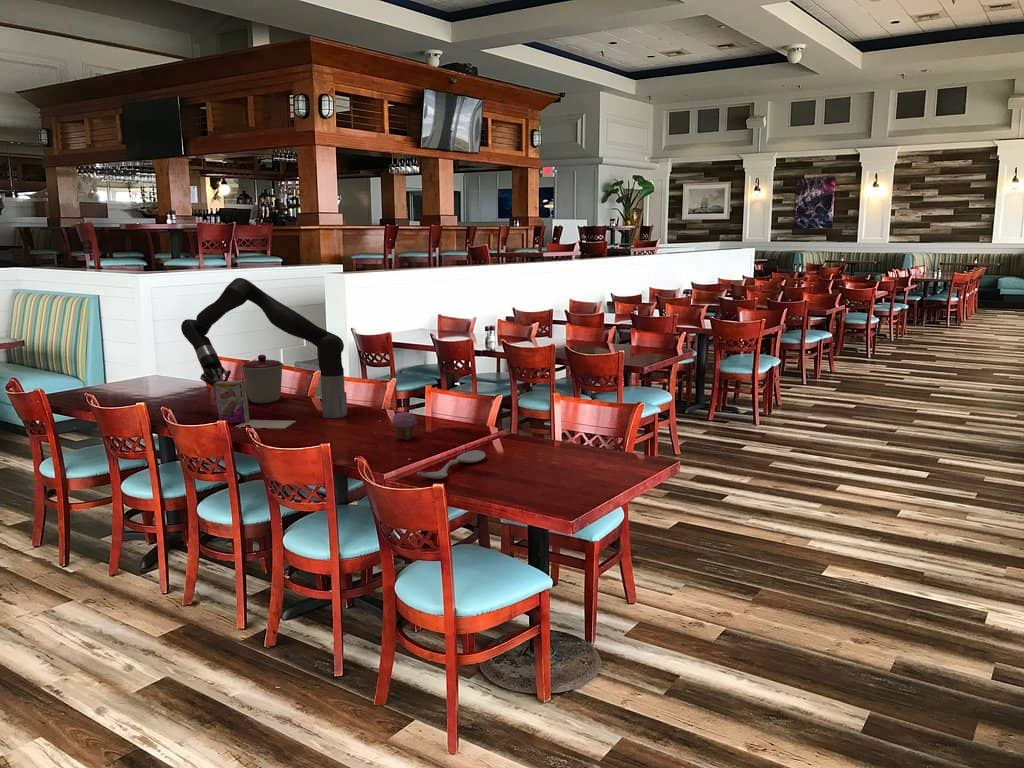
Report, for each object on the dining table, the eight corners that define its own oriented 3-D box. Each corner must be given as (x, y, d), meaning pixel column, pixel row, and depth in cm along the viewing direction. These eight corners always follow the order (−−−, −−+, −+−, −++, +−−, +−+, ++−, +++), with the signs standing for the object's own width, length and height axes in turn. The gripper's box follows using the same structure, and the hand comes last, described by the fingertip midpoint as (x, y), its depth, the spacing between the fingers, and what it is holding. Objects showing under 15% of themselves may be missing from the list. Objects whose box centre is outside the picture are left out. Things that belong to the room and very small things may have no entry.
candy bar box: (218, 424, 325) (213, 383, 322) (223, 421, 330) (218, 381, 327) (245, 423, 323) (240, 382, 320) (250, 420, 328) (245, 380, 325)
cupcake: (410, 442, 295) (409, 415, 293) (388, 440, 298) (387, 413, 296) (421, 436, 303) (420, 410, 301) (400, 434, 306) (399, 408, 304)
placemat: (296, 421, 328) (296, 420, 328) (284, 429, 316) (284, 428, 316) (248, 420, 330) (248, 419, 330) (234, 427, 318) (234, 426, 318)
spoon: (415, 482, 249) (415, 471, 249) (467, 456, 278) (467, 446, 277) (441, 486, 245) (441, 474, 245) (490, 459, 274) (490, 449, 273)
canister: (242, 406, 356) (238, 358, 352) (245, 398, 374) (241, 352, 370) (285, 404, 361) (282, 356, 357) (286, 396, 378) (283, 351, 374)
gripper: (221, 362, 344) (236, 395, 337) (190, 366, 335) (205, 400, 328) (226, 351, 339) (241, 384, 332) (194, 354, 330) (209, 388, 324)
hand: (223, 392), depth 330 cm, fingers closed
